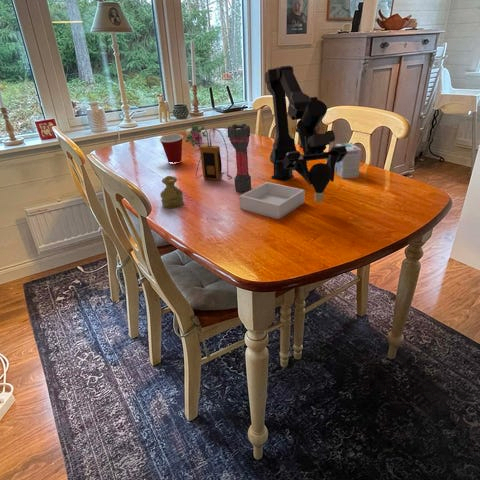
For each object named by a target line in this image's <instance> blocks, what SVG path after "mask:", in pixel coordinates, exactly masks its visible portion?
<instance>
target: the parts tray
mask: <svg viewBox="0 0 480 480" xmlns="http://www.w3.org/2000/svg"><path fill="white" fill-rule="evenodd" d="M305 193H306V191H305V189H302V188H297V187H292V186H287V185H283V184H279V183H274V182H270V181H265V182H264V183H262V184H260V185H258V186H256V187H254V188H252V189H249V190H248V191H245V192H244V193H242V194H241V195H239V208H240V210H244V211H247V212H249V213H250V212H251V213H255V214H258V215H262V216H265V217H269V218H272V219H276V220H281V219H282V218H283V217H285V216H287V215H288V214H289V213H291V212H293V211H294V210H295V209H297V208H298V207H300V206H302V205H303V204H305V197H306V196H305V195H306V194H305Z"/></svg>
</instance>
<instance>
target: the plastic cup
mask: <svg viewBox="0 0 480 480" xmlns="http://www.w3.org/2000/svg"><path fill="white" fill-rule="evenodd" d="M183 138H184V135H183V134H179V133H171V134H166V135H163V136H161V137H160V138H158V141H159V142H160V143H161V145H162V147H163V151H164V153H165V157H166V158H167V163H169V162H173V163H174V162H180V161H181V162H182V155H183Z"/></svg>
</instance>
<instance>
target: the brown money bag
mask: <svg viewBox="0 0 480 480" xmlns="http://www.w3.org/2000/svg"><path fill="white" fill-rule="evenodd" d="M177 181H178V178H177V177H174V176H171V175H167V176H165V177H164V178H162V179H161V182H162V184H164V185H165V187H164V189H163V190H162V191H161V192H160V194H159V195H160V198H161V200H160V201H161V206H162V207H163V208H165V209H177V208H180V207H182V206H183V205H184V197H183V193H184V192H183V190H181V189H180V188H178V187H176V186H175V183H176V182H177Z"/></svg>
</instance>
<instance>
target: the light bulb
mask: <svg viewBox="0 0 480 480" xmlns="http://www.w3.org/2000/svg"><path fill="white" fill-rule="evenodd" d="M308 171H309V174H310V177H311V181H312V184H311V186H312V187H313V189H314V202H316V203H322V202H323V201H324V193H325V192H324V191H325V189H326V188H327V186H328V185H329V182H331V180H330V179H331V177H332V170H331V168H330V167H329V166H328V165H327V164H326V163H322V162H318V163H315V164H313V165H312V166H311V168H309V170H308Z"/></svg>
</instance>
